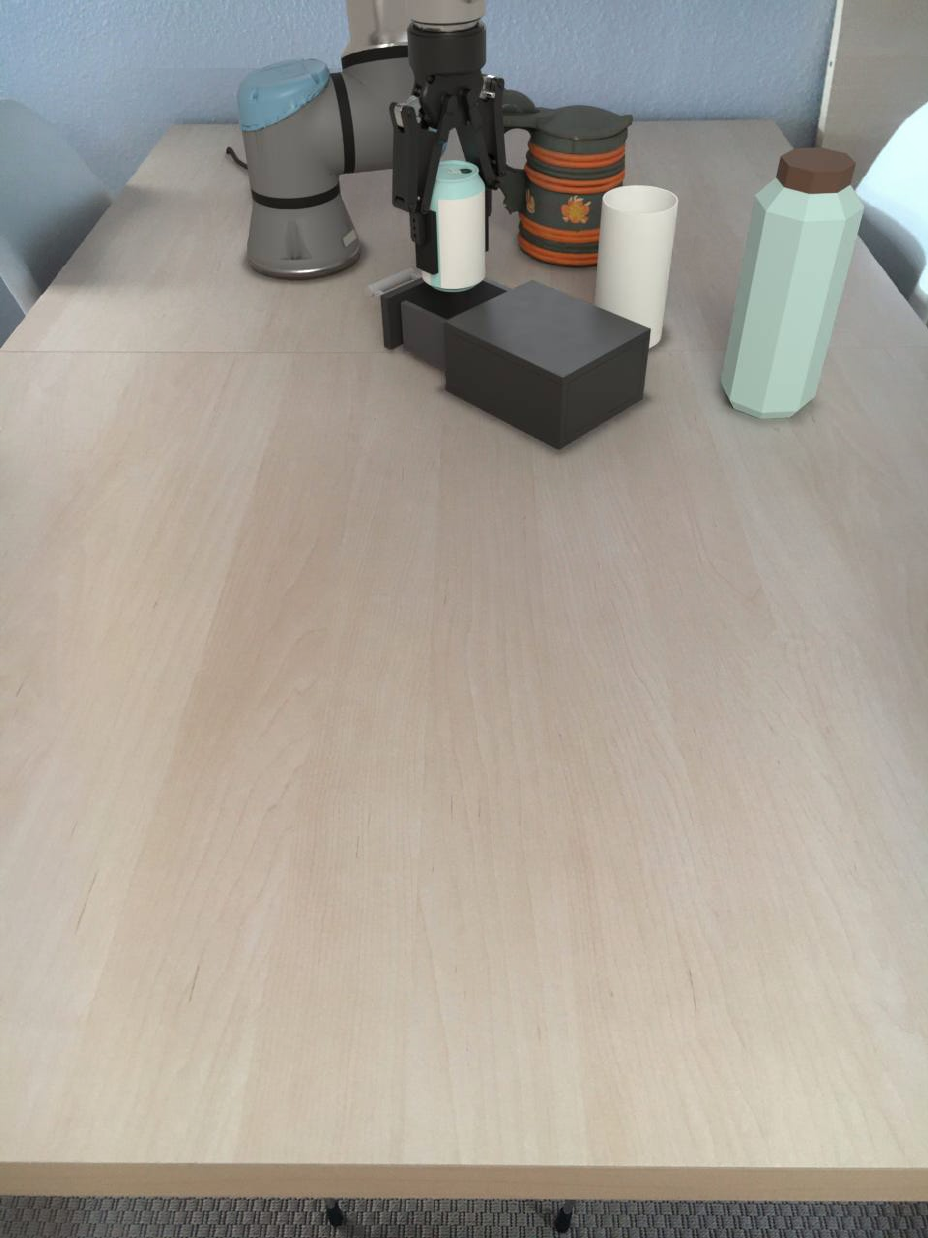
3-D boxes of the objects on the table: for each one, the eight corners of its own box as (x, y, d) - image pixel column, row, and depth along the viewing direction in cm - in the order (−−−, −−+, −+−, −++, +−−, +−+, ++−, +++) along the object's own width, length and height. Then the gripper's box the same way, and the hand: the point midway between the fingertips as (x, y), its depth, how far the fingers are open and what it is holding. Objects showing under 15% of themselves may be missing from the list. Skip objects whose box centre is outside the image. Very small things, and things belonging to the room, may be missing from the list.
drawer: (349, 329, 119) (344, 278, 114) (426, 294, 125) (423, 244, 121) (478, 395, 107) (477, 341, 103) (555, 354, 114) (558, 301, 109)
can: (447, 261, 114) (443, 152, 106) (497, 276, 111) (498, 165, 103) (409, 284, 110) (402, 172, 102) (460, 300, 107) (458, 186, 99)
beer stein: (487, 270, 132) (487, 108, 118) (486, 225, 143) (486, 72, 129) (630, 268, 132) (646, 105, 118) (618, 223, 142) (632, 70, 128)
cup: (659, 354, 115) (676, 216, 104) (588, 348, 116) (598, 211, 105) (663, 320, 121) (680, 186, 110) (596, 315, 122) (606, 182, 111)
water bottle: (816, 383, 110) (877, 146, 92) (808, 430, 103) (872, 184, 86) (725, 369, 112) (768, 136, 95) (711, 415, 105) (755, 172, 88)
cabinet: (445, 390, 110) (443, 321, 104) (530, 346, 117) (532, 279, 111) (558, 450, 101) (562, 378, 96) (642, 398, 108) (651, 328, 102)
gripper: (393, 49, 86) (408, 299, 102) (547, 7, 96) (539, 241, 112) (338, 34, 90) (361, 277, 106) (492, -5, 100) (492, 223, 116)
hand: (453, 258), depth 109 cm, fingers closed on can, 7 cm apart
